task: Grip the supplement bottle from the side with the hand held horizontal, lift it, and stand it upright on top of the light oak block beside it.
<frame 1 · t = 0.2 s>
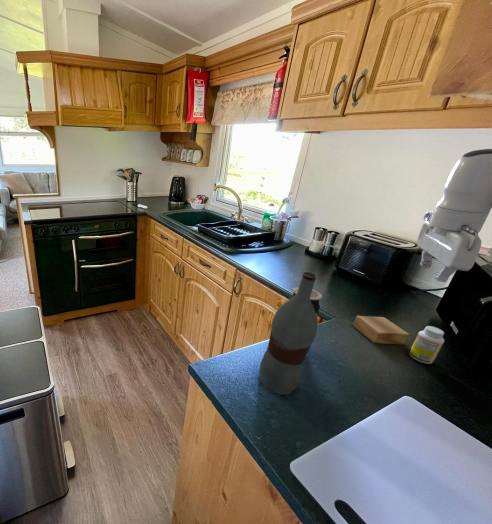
hand: (431, 273, 74), 28 cm above the countertop, tool pointing down, fingers open, 8 cm apart
travel mug: (290, 345, 88), on the countertop
supplement bottle: (419, 358, 87), on the countertop
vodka: (276, 382, 73), on the countertop
oak block: (377, 334, 97), on the countertop
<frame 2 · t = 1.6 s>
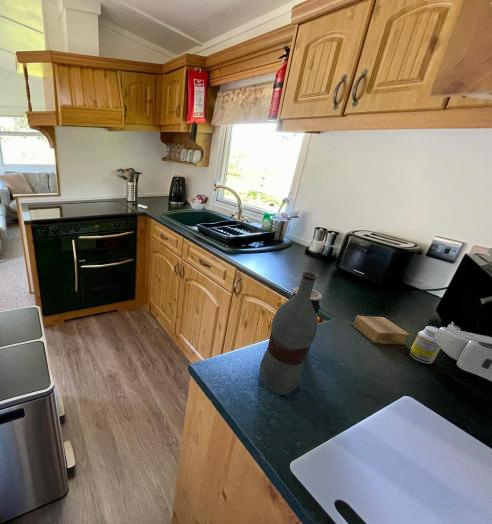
hand: (475, 332, 69), 17 cm above the countertop, tool horizontal, fingers open, 8 cm apart
nothing on the countertop moved.
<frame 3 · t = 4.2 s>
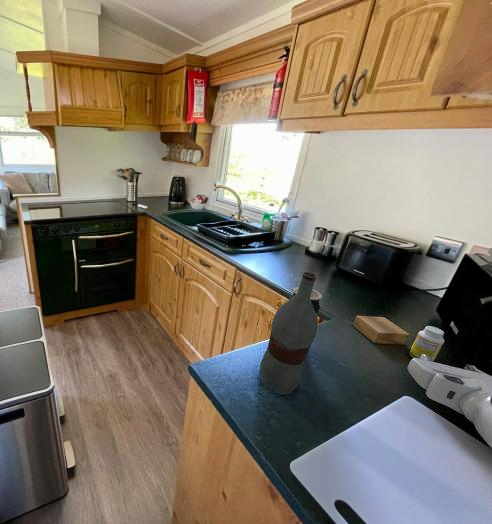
hand: (445, 361, 77), 6 cm above the countertop, tool horizontal, fingers open, 8 cm apart
nothing on the countertop moved.
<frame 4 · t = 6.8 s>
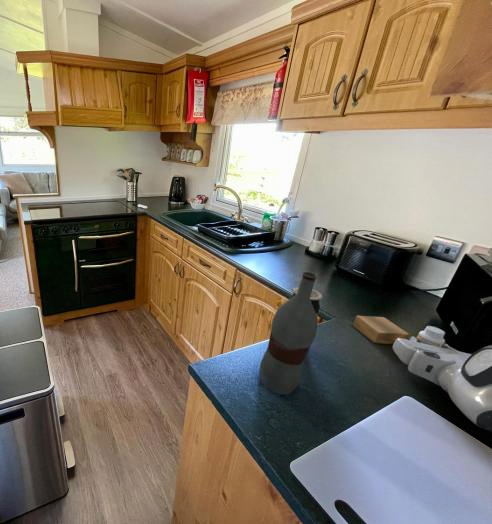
hand: (427, 342, 85), 6 cm above the countertop, tool horizontal, fingers closed on supplement bottle, 5 cm apart
supplement bottle: (419, 358, 87), on the countertop, touching gripper
everything else where it was.
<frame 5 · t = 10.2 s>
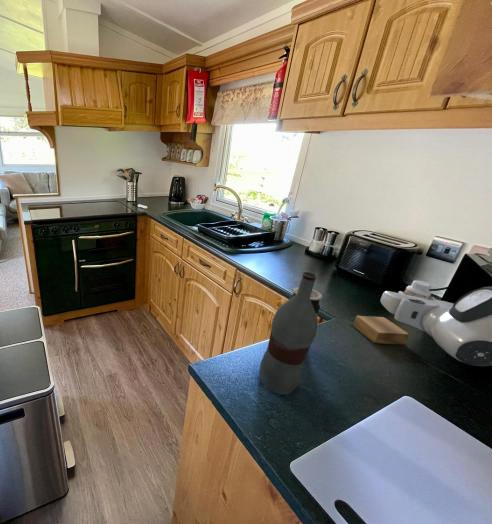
hand: (414, 296, 87), 17 cm above the countertop, tool horizontal, fingers closed on supplement bottle, 5 cm apart
supplement bottle: (407, 313, 89), point 11 cm above the countertop, touching gripper
everything else where it was.
when the fingers open (10 cm above the countertop, at t = 13.6 s): supplement bottle stays where it is, resting on oak block.
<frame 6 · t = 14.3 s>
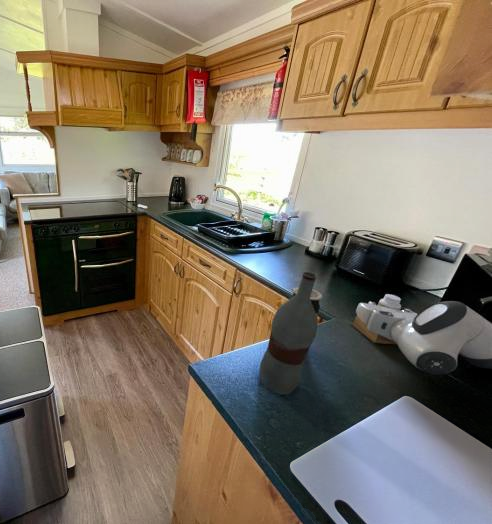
hand: (387, 307, 94), 10 cm above the countertop, tool horizontal, fingers open, 8 cm apart
supplement bottle: (381, 324, 96), point 4 cm above the countertop, touching oak block
everything else where it was.
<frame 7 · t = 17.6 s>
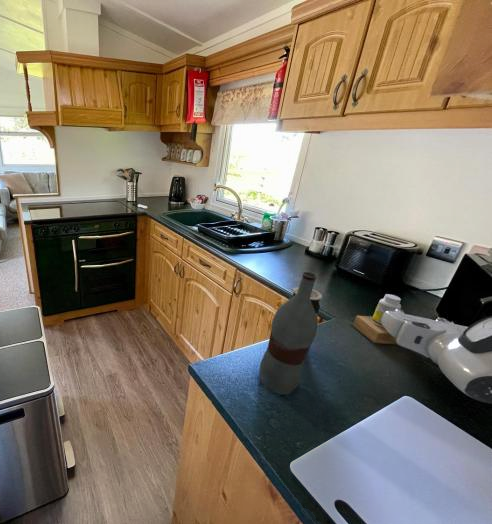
hand: (417, 315, 80), 15 cm above the countertop, tool horizontal, fingers open, 8 cm apart
nothing on the countertop moved.
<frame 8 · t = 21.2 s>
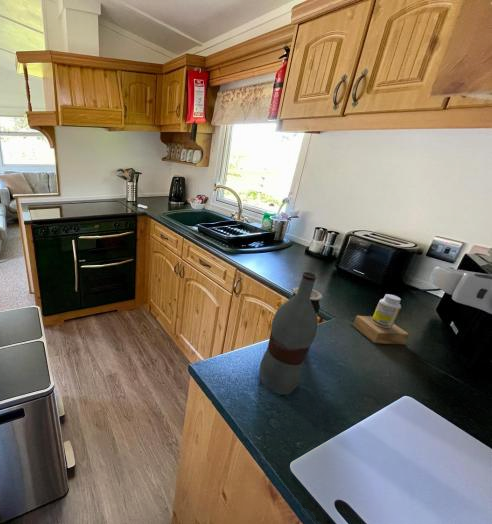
hand: (470, 273, 70), 30 cm above the countertop, tool horizontal, fingers open, 8 cm apart
nothing on the countertop moved.
at the end: supplement bottle inside the target area on the oak block (0.2 cm from its centre), point 3.8 cm above the oak block's base; supplement bottle tilted 0°; the gripper is holding nothing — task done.
